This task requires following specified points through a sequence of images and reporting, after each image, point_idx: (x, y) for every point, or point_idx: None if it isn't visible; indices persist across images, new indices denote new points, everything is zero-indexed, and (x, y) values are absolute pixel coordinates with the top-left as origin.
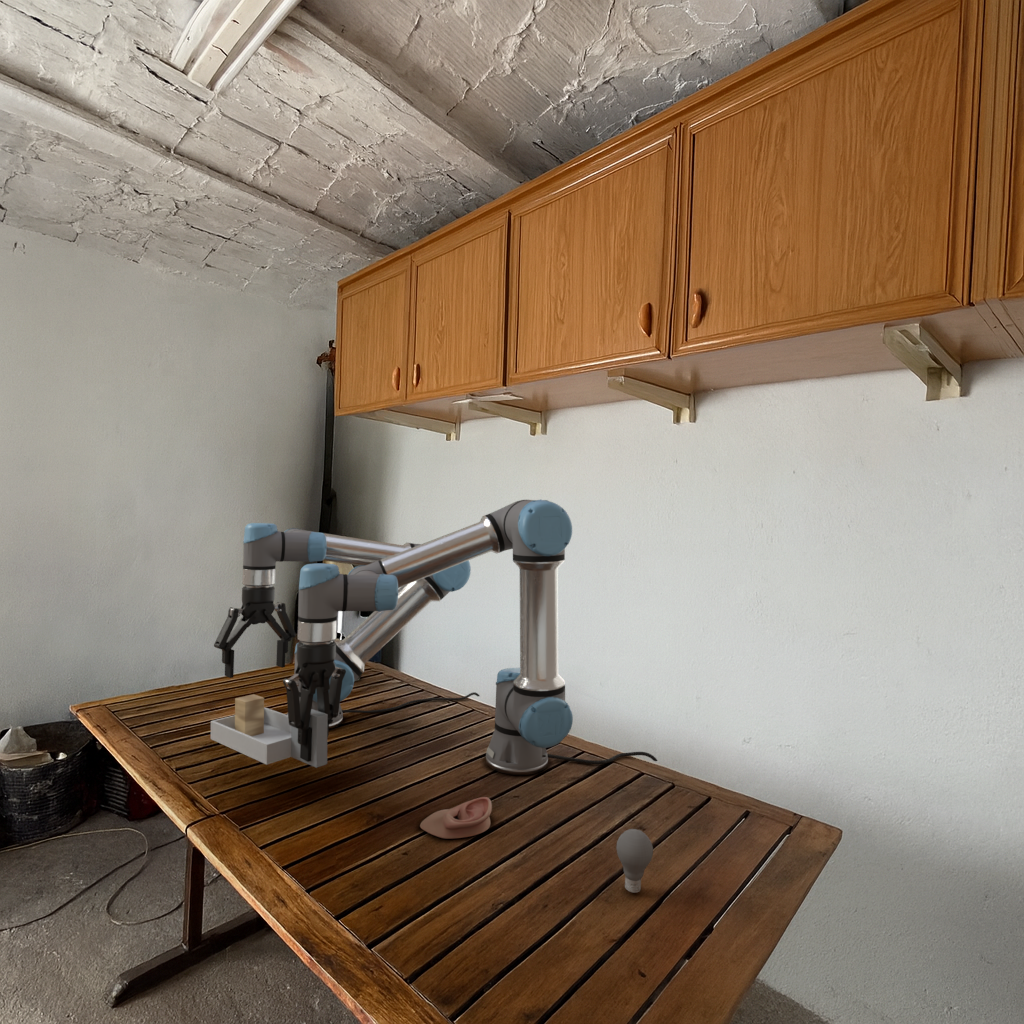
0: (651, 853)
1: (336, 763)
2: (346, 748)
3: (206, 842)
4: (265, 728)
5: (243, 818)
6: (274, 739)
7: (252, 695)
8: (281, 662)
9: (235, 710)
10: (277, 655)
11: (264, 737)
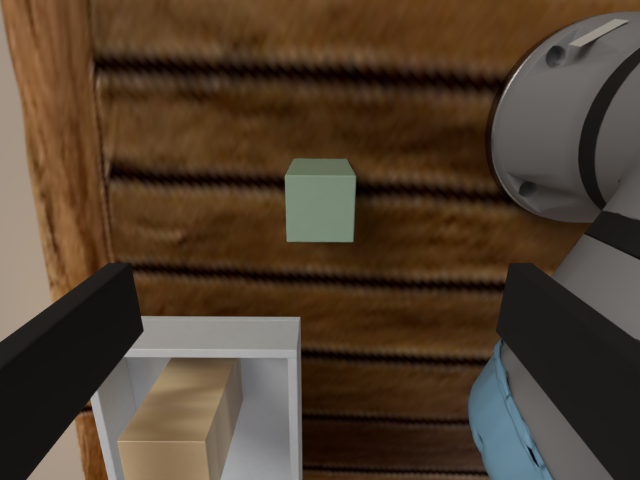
0: None
1: (404, 385)
2: (479, 341)
3: (86, 464)
4: (267, 370)
5: None
6: (238, 457)
7: (192, 453)
8: (515, 341)
9: (142, 405)
10: (554, 316)
11: None
